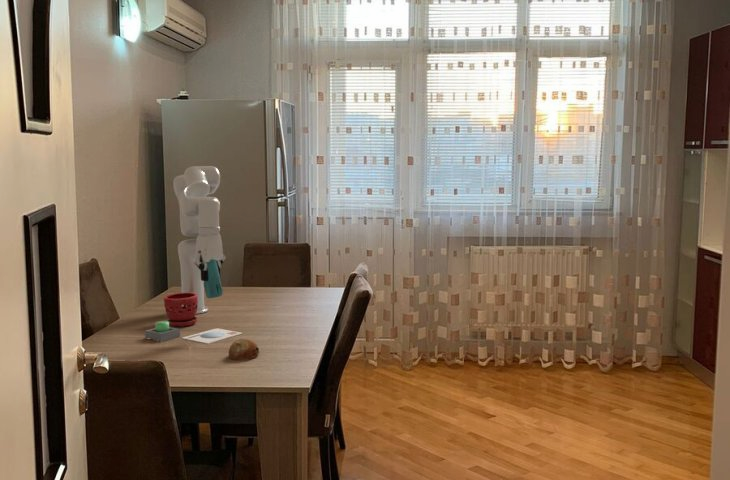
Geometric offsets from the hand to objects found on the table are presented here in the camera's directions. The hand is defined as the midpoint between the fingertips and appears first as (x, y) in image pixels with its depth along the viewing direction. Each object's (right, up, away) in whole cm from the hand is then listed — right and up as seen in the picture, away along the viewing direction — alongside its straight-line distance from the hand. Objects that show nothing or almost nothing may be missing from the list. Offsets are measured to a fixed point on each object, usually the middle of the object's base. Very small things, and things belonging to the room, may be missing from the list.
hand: (210, 279), depth 280 cm
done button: (-18, -20, +1) cm, 27 cm away
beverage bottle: (+2, -8, +1) cm, 8 cm away
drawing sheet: (0, -22, +3) cm, 22 cm away
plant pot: (-16, -20, +23) cm, 34 cm away
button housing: (-18, -22, +1) cm, 29 cm away
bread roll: (+17, -25, -25) cm, 39 cm away
